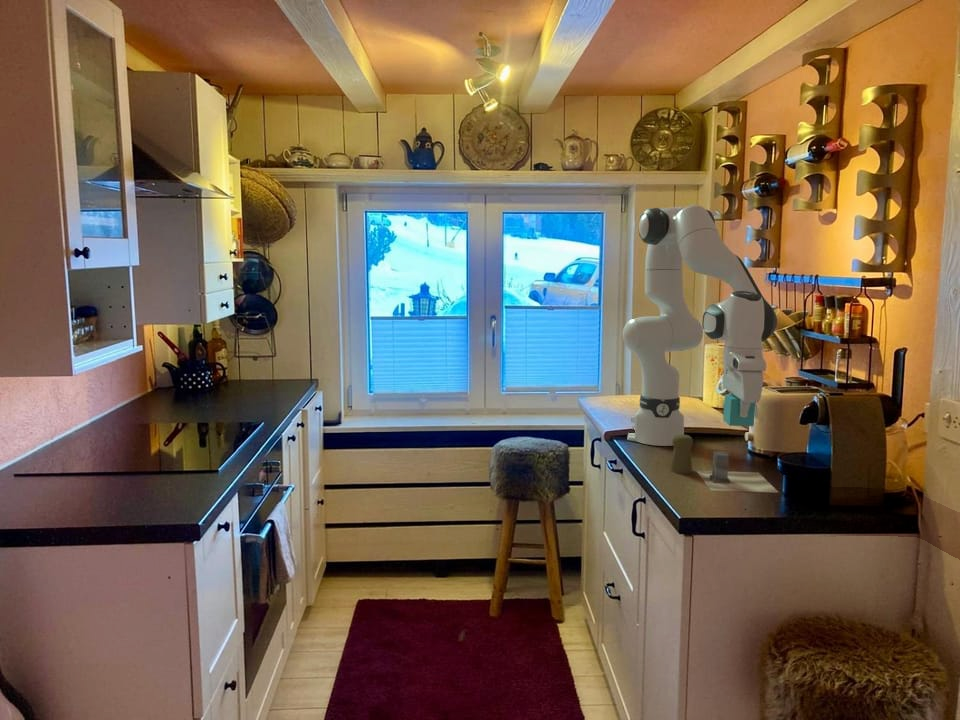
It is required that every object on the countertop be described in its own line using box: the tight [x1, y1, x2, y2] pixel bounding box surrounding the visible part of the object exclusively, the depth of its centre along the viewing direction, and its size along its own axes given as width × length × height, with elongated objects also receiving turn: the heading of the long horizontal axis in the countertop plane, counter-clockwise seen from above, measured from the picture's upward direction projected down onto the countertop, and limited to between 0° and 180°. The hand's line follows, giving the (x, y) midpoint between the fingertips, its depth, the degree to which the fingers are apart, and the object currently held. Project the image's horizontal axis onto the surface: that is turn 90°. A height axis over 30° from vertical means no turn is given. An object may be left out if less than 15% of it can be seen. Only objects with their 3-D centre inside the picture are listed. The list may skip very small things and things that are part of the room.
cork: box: [669, 434, 694, 475], centre depth 191 cm, size 6×6×11 cm
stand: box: [696, 451, 779, 494], centre depth 183 cm, size 16×16×8 cm
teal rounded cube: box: [722, 394, 756, 427], centre depth 181 cm, size 6×6×7 cm
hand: (738, 413), depth 181 cm, fingers closed on teal rounded cube, 6 cm apart
